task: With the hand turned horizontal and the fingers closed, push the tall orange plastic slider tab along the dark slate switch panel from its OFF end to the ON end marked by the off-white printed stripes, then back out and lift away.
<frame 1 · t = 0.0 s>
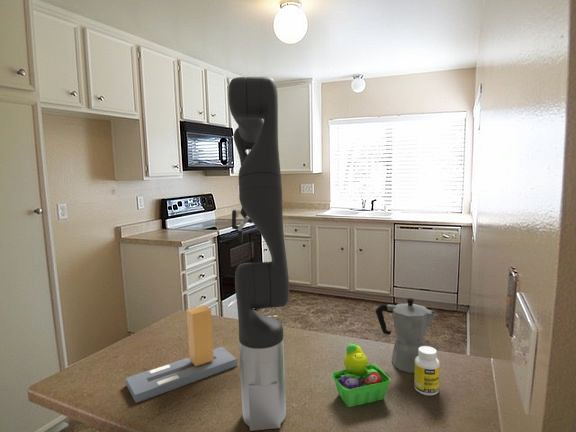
hand: (255, 241, 121), 29 cm above the countertop, tool pointing down, fingers open, 8 cm apart
switch panel: (183, 375, 97), on the countertop
fruit basket: (359, 396, 86), on the countertop
coffeepot: (405, 364, 99), on the countertop
supplement bottle: (426, 390, 88), on the countertop
slider tab: (200, 335, 98), point 9 cm above the countertop, slide at 0.0 cm
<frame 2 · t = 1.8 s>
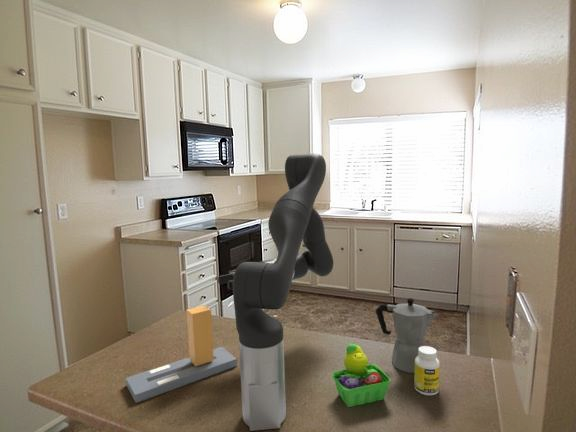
hand: (223, 282, 101), 22 cm above the countertop, tool horizontal, fingers open, 5 cm apart
nothing on the countertop moved.
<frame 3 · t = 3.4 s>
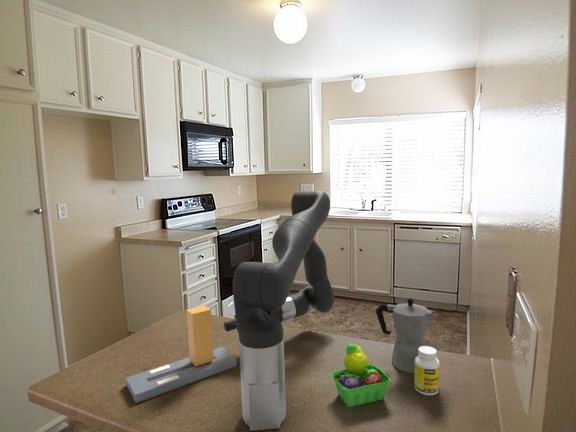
hand: (224, 327, 103), 9 cm above the countertop, tool horizontal, fingers closed
nothing on the countertop moved.
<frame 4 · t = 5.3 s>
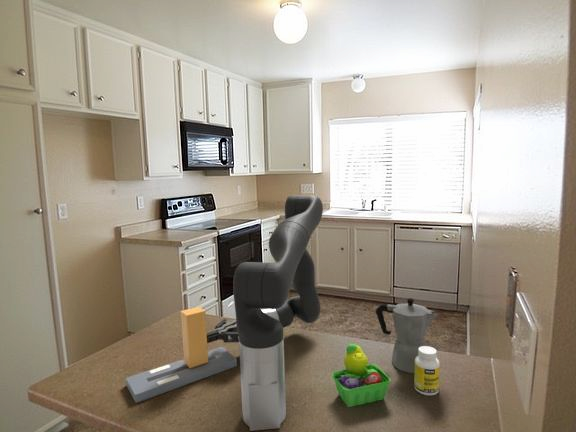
hand: (204, 339, 99), 8 cm above the countertop, tool horizontal, fingers closed
slider tab: (194, 336, 97), point 9 cm above the countertop, slide at 1.5 cm, touching gripper
everything else where it was.
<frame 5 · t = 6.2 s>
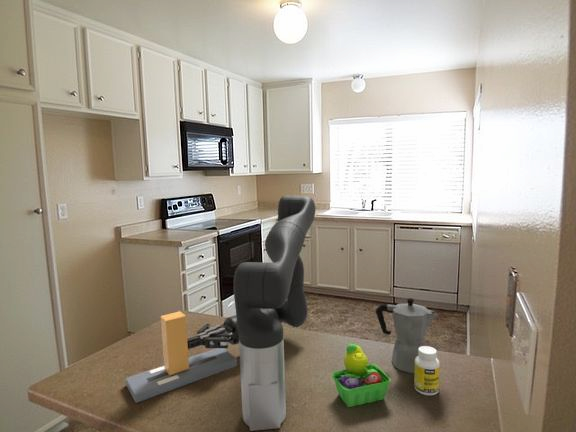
hand: (185, 344, 96), 8 cm above the countertop, tool horizontal, fingers closed
slider tab: (174, 342, 94), point 9 cm above the countertop, slide at 6.7 cm, touching gripper
everything else where it was.
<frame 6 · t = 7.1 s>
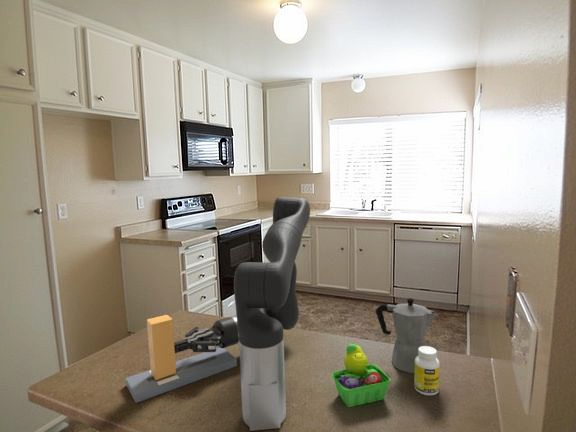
hand: (172, 348, 94), 8 cm above the countertop, tool horizontal, fingers closed
slider tab: (161, 346, 93), point 9 cm above the countertop, slide at 10.1 cm, touching gripper
everything else where it was.
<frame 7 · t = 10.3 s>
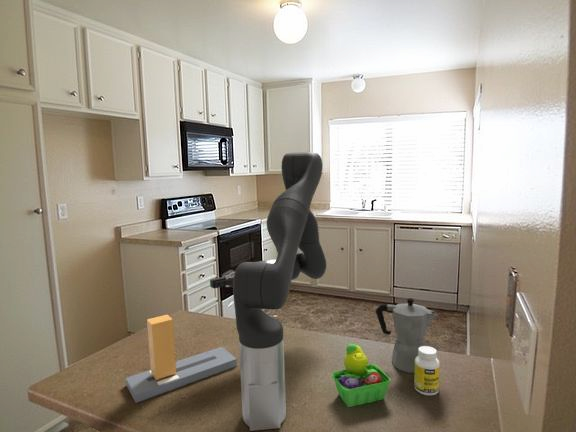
hand: (211, 284, 99), 22 cm above the countertop, tool horizontal, fingers closed
slider tab: (161, 346, 93), point 9 cm above the countertop, slide at 10.0 cm
everything else where it was.
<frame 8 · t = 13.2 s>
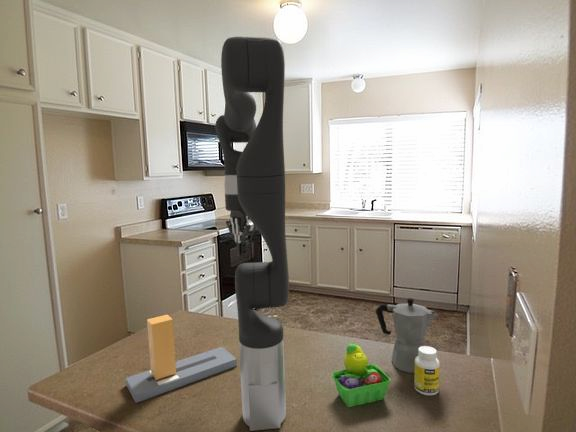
hand: (241, 255, 102), 29 cm above the countertop, tool pointing down, fingers closed
nothing on the countertop moved.
at the end: slider tab slide at 10.0 cm; coffeepot moved 0.2 cm from its start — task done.
